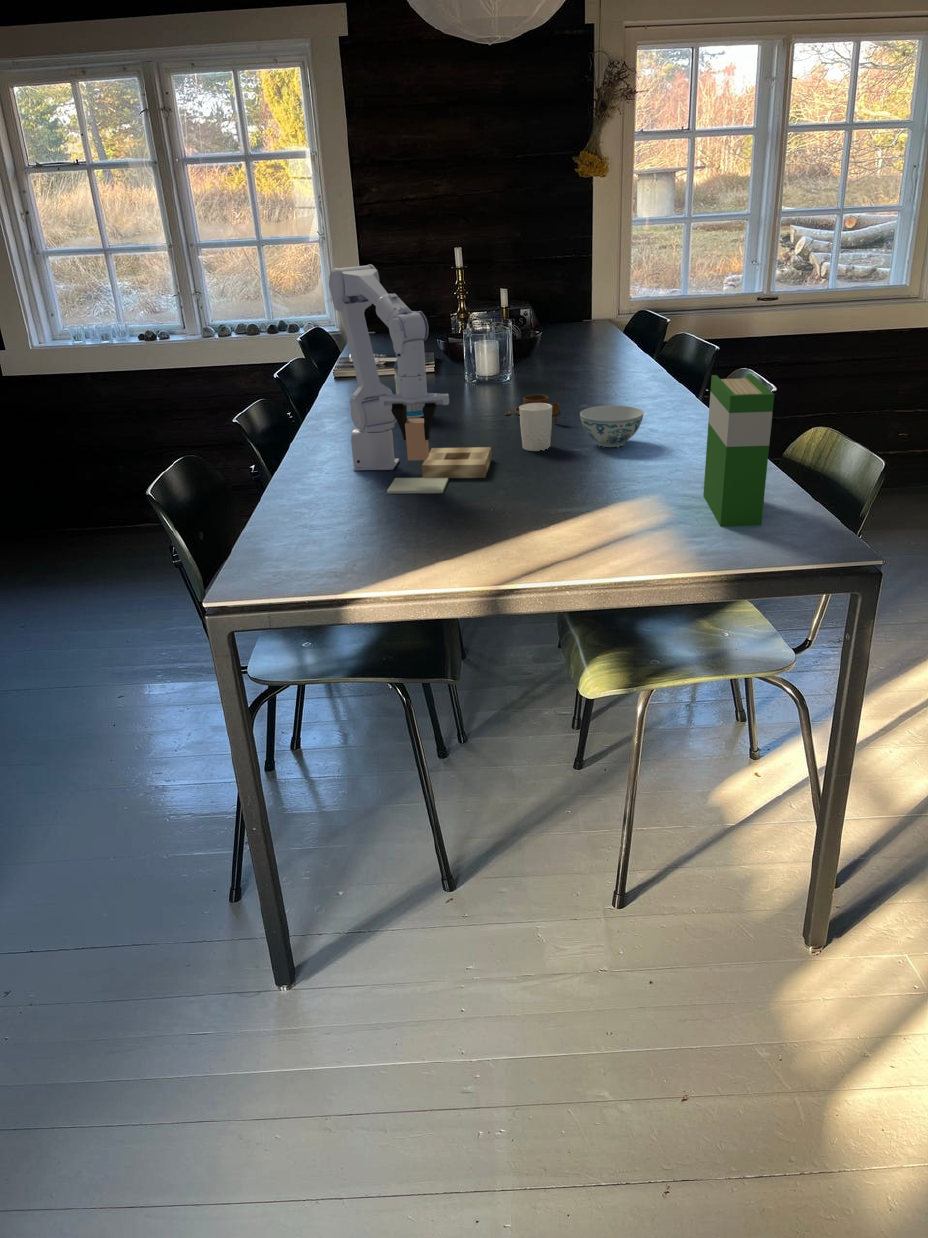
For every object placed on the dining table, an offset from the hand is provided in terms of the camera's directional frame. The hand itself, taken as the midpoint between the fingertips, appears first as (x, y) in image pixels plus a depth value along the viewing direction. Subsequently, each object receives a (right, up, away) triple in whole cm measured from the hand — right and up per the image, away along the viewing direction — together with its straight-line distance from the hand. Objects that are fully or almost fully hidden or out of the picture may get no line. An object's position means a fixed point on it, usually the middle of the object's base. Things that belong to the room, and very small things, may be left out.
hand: (416, 438), depth 195 cm
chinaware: (+46, +4, +27) cm, 53 cm away
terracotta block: (0, -4, +2) cm, 4 cm away
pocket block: (+9, -4, +15) cm, 18 cm away
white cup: (+28, +3, +28) cm, 39 cm away
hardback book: (+62, -18, -19) cm, 67 cm away
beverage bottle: (-5, +19, +64) cm, 67 cm away
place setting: (+30, +17, +57) cm, 66 cm away
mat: (0, -10, +4) cm, 10 cm away
